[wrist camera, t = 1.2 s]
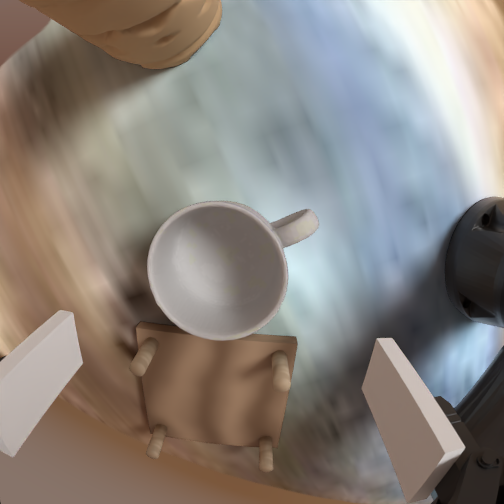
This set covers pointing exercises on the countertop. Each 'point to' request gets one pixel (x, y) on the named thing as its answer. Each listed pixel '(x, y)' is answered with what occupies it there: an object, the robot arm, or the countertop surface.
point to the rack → (214, 387)
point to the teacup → (223, 267)
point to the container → (138, 26)
